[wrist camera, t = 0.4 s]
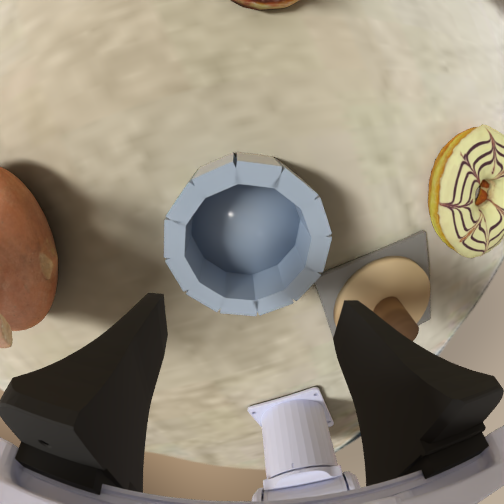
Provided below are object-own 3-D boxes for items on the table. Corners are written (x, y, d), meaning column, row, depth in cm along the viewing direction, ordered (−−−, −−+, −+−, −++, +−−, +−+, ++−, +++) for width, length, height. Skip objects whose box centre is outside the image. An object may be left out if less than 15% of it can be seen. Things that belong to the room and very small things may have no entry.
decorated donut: (512, 178, 20) (538, 190, 16) (458, 262, 23) (481, 282, 20) (463, 99, 17) (494, 101, 13) (397, 198, 20) (424, 215, 17)
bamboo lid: (426, 317, 25) (448, 347, 21) (344, 354, 26) (358, 390, 22) (421, 239, 21) (452, 265, 17) (321, 281, 22) (338, 318, 18)
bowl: (328, 254, 22) (345, 282, 18) (212, 298, 23) (209, 332, 19) (285, 131, 18) (298, 135, 14) (153, 189, 19) (134, 207, 15)
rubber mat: (428, 316, 25) (430, 319, 25) (339, 357, 27) (340, 359, 26) (422, 230, 21) (425, 231, 21) (312, 276, 22) (313, 279, 22)
